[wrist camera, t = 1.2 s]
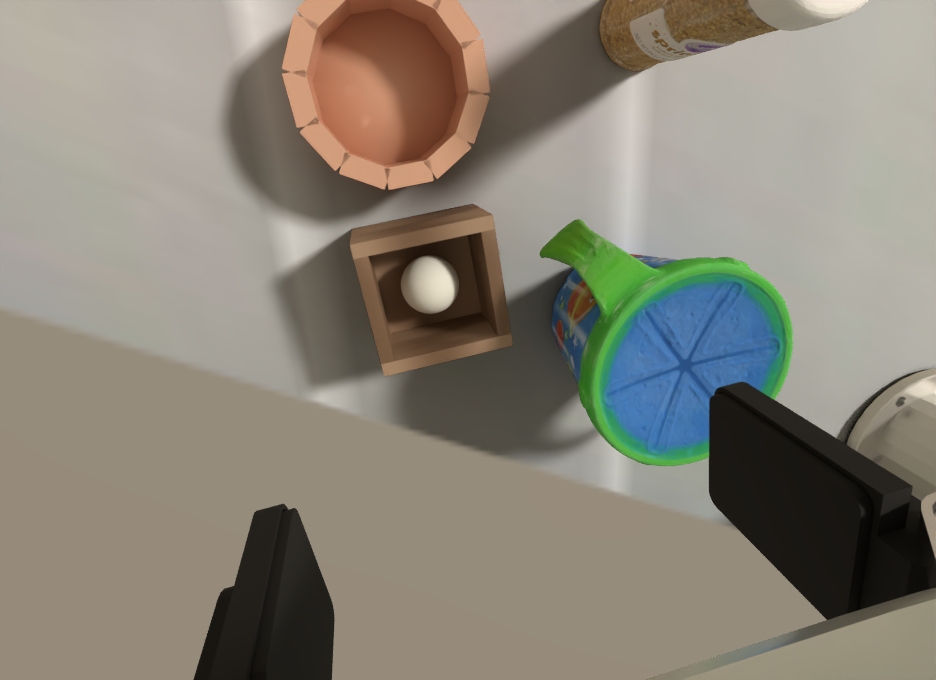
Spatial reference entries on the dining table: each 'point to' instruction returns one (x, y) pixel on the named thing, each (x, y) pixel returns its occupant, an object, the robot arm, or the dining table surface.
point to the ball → (429, 284)
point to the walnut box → (466, 320)
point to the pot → (386, 86)
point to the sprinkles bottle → (702, 25)
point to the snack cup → (663, 341)
